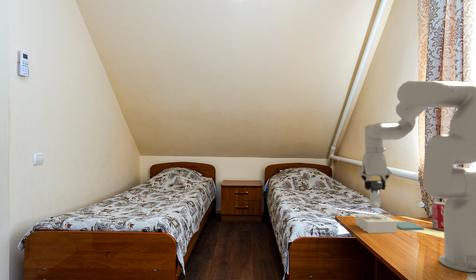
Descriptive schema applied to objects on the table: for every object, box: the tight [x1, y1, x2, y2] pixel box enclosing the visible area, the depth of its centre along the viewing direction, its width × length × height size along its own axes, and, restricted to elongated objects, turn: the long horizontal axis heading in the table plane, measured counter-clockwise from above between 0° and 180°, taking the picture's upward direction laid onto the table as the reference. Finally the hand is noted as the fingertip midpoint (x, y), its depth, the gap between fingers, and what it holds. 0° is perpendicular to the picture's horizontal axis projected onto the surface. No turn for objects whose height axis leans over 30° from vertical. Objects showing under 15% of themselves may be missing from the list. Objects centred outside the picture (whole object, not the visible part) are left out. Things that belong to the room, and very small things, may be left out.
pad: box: [397, 221, 425, 231], centre depth 141 cm, size 10×10×1 cm
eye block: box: [355, 213, 398, 234], centre depth 138 cm, size 13×13×5 cm
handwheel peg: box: [369, 179, 383, 209], centre depth 138 cm, size 6×6×12 cm
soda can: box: [431, 201, 446, 231], centre depth 137 cm, size 7×7×12 cm
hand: (375, 189), depth 138 cm, fingers closed on handwheel peg, 6 cm apart
